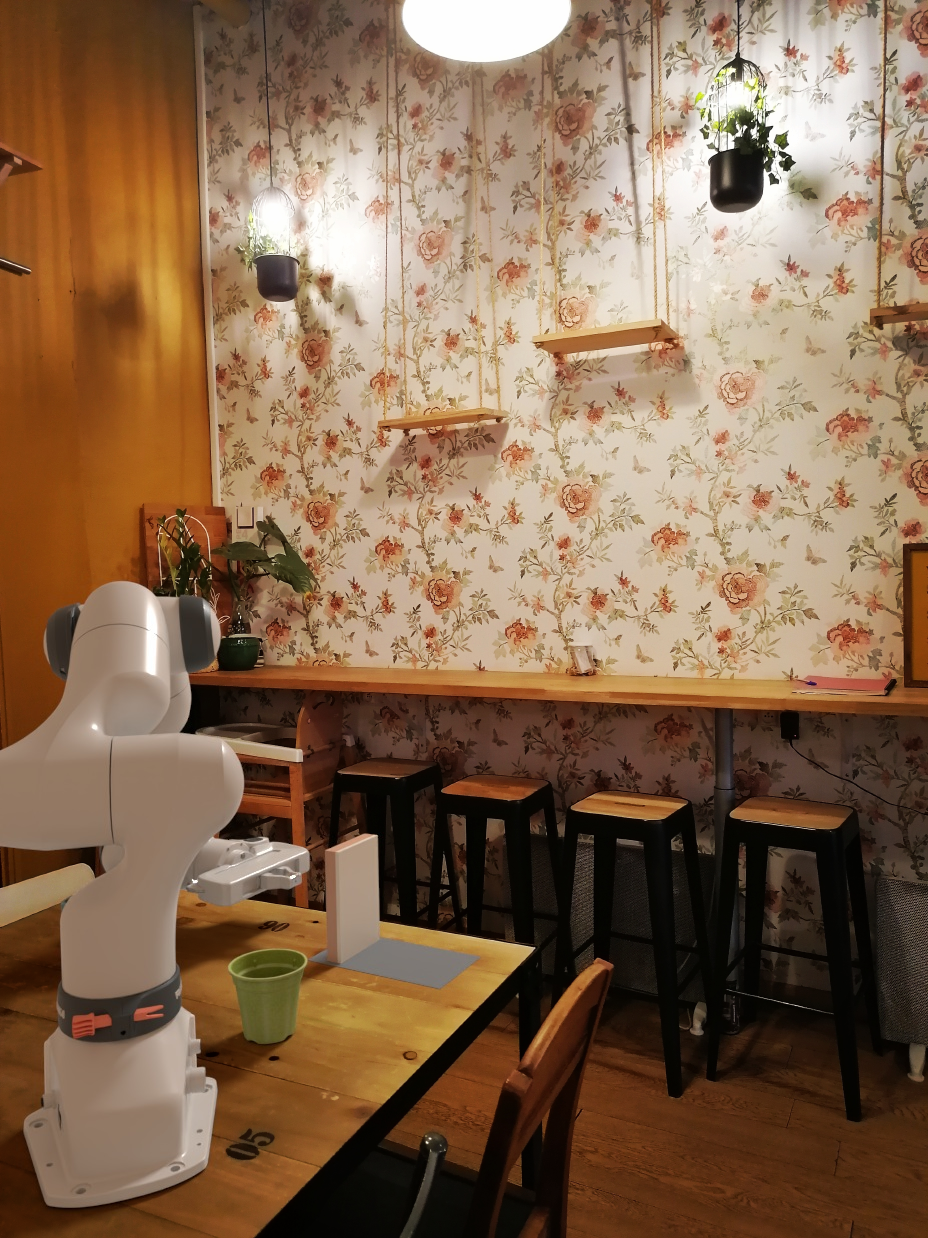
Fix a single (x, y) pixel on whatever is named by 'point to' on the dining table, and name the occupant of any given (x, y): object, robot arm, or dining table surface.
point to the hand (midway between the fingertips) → (296, 881)
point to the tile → (352, 897)
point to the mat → (406, 962)
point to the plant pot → (268, 992)
